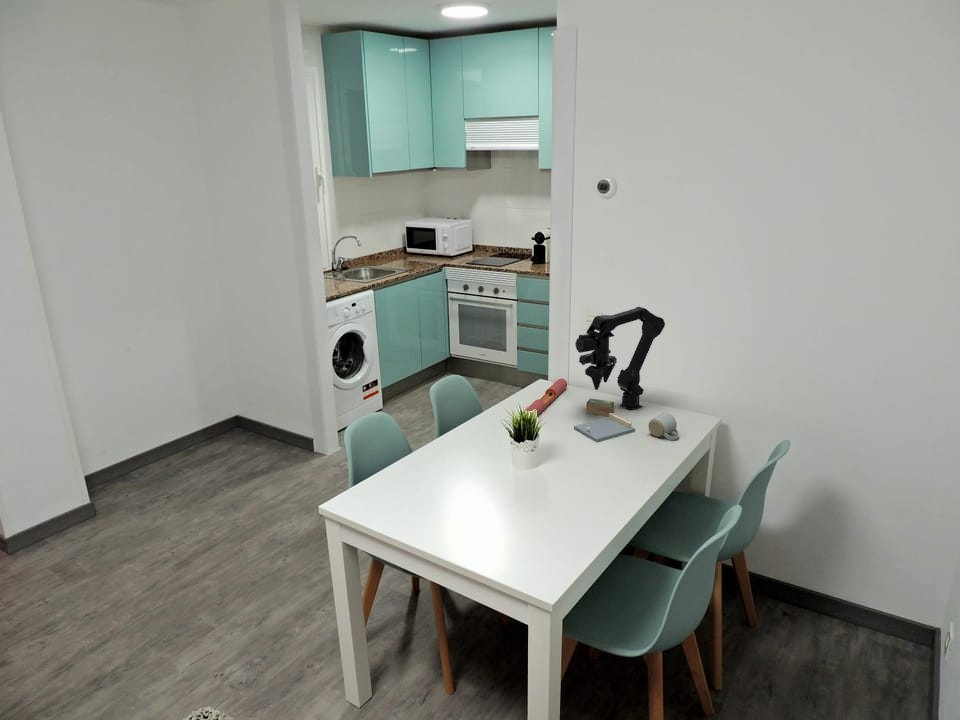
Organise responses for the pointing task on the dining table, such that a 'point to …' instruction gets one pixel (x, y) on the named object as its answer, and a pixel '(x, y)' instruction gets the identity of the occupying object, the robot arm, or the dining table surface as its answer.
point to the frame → (599, 407)
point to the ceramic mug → (663, 426)
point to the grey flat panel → (605, 428)
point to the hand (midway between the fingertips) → (600, 385)
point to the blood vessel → (548, 396)
